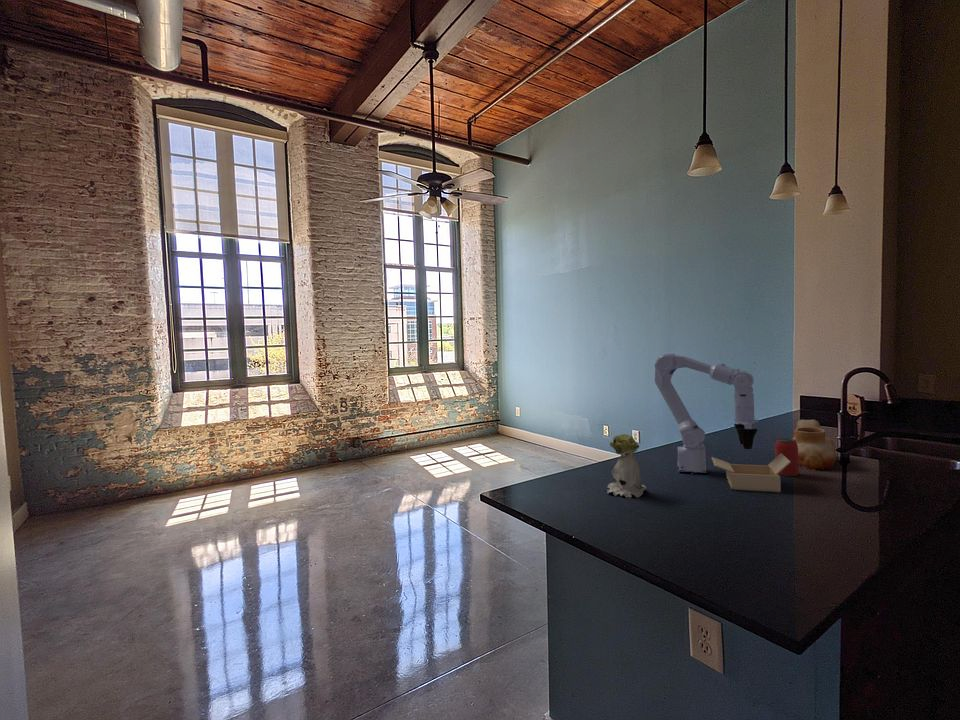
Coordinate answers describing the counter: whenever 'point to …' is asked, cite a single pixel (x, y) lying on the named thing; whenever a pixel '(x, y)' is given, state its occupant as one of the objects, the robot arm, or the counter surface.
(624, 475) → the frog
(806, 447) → the ceramic vessel
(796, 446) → the beer can
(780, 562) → the counter surface
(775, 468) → the flap
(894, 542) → the counter surface
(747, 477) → the cardboard box
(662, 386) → the robot arm
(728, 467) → the flap
